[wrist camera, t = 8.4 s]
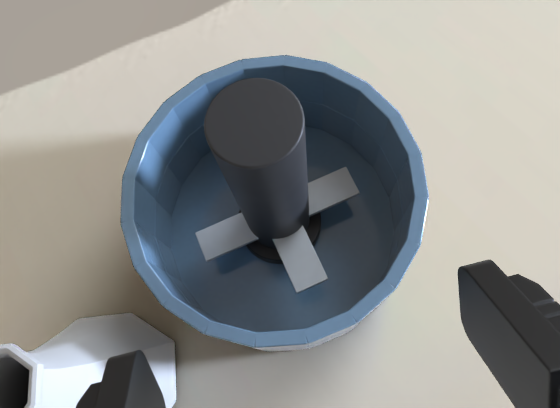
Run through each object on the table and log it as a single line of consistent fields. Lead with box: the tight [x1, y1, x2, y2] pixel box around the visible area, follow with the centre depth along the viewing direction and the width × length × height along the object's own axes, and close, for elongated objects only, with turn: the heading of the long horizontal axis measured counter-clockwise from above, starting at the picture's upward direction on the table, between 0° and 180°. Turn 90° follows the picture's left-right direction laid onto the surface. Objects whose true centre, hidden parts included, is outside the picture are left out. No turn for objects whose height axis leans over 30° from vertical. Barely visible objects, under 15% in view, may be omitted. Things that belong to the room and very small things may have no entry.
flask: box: [0, 313, 176, 408], centre depth 21 cm, size 7×7×10 cm
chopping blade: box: [195, 78, 360, 294], centre depth 21 cm, size 8×8×12 cm
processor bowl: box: [121, 55, 429, 352], centre depth 24 cm, size 13×13×6 cm
